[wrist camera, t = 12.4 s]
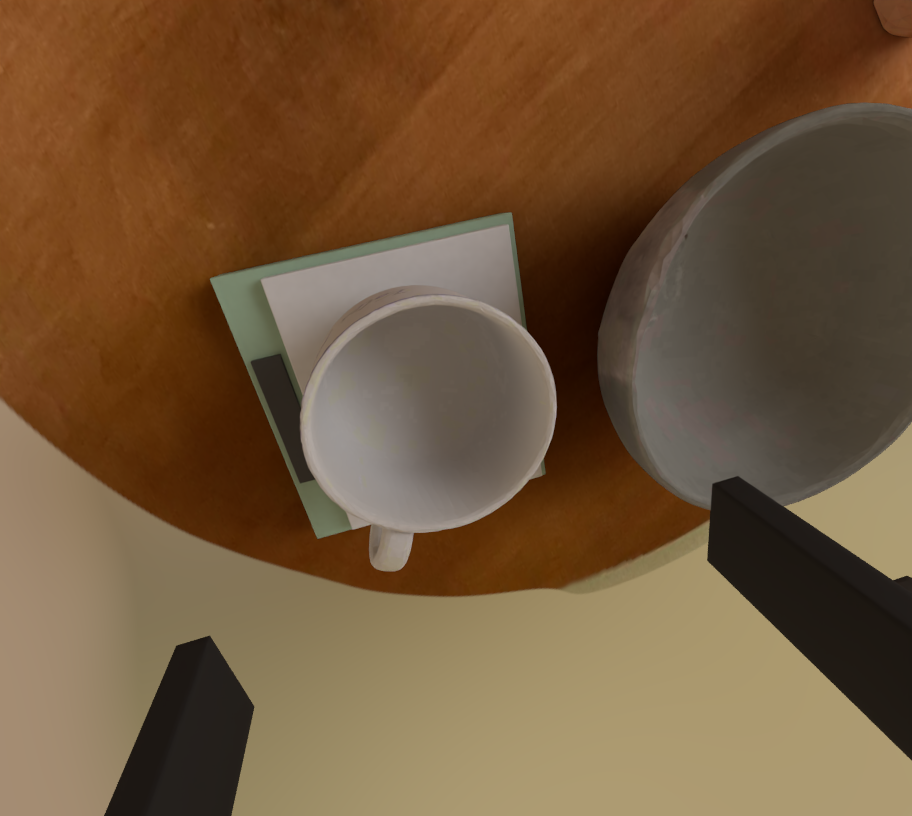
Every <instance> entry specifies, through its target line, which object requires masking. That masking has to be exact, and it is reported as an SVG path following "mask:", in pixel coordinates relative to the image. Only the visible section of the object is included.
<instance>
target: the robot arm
mask: <svg viewBox="0 0 912 816" xmlns="http://www.w3.org/2000/svg"><path fill="white" fill-rule="evenodd" d="M707 560H708V562H709V563H710V564H711V565H713V566H714V567H715V569H716V570H717V571H719V572H720V573H721V574H722V575H723V576H724V577H725V578H726V579H727V580H728V581H729V582H730V583H731V584H732V585H733V586H734V587H735V588H736V589H737V590H738V591H739V592H740V593H741V594H742V595H743V596H744V597H745V598H746V599H747V600H748V601H749V602H750V603H751V604H752V605H753V606H755V608H756V609H757V610H758V611H759V612H760V613H762V614H763V616H765V617H766V618H767V619H768V620H769V621H770V622H771V623H772V624H773V625H774V626H775V627H776V628H777V629H778V630H779V631H780V632H781V633H782V634H783V635H784V636H785V637H786V638H787V639H788V640H789V641H790V642H791V643H792V644H793V645H794V646H795V647H796V648H797V649H798V650H799V651H800V652H801V653H802V654H804V656H805V657H807V658H808V659H809V660H810V661H811V662H812V663H813V664H814V665H815V666H816V667H817V668H818V669H819V670H820V671H821V672H822V673H823V674H824V675H825V676H826V677H827V678H828V679H829V680H830V681H831V682H832V683H833V684H834V685H835V686H836V687H837V688H838V689H839V690H840V691H841V692H842V693H844V695H846V697H847V698H848V699H849V700H850V701H851V702H852V703H854V704H855V705H856V706H857V707H858V708H859V709H860V710H861V711H862V712H863V713H864V714H865V715H866V716H867V717H868V718H869V719H870V720H871V721H872V722H873V723H874V724H875V725H876V726H877V727H878V728H879V729H880V730H881V731H882V732H883V733H884V734H885V735H886V736H887V737H888V738H889V739H890V740H891V741H892V742H893V743H894V744H895V745H896V746H898V747H899V748H900V749H901V750H902V751H903V752H904V753H905V754H906V755H907V756H908V757H909V758H910V759H911V760H912V578H911V577H909V576H905V577H902V578H899V579H896V580H891V579H890V578H888V577H887V576H885V575H884V574H883V573H881V572H880V571H878V570H877V569H875V568H874V567H872V566H871V565H869V564H868V563H866V562H865V561H863V560H862V559H860V558H859V557H857V556H856V555H854V554H853V553H851V552H850V551H848V550H847V549H845V548H844V547H843V546H841V545H840V544H838V543H837V542H835V541H834V540H832V539H831V538H829V537H828V536H826V535H825V534H823V533H822V532H820V531H819V530H817V529H816V528H814V527H813V526H812V525H810V524H809V523H807V522H806V521H804V520H803V519H801V518H800V517H798V516H797V515H795V514H794V513H792V512H791V511H789V510H788V509H786V508H785V507H783V506H782V505H780V504H779V503H777V502H776V501H775V500H773V499H772V498H770V497H769V496H767V495H766V494H764V493H763V492H761V491H760V490H758V489H757V488H755V487H754V486H752V485H751V484H749V483H748V482H746V481H745V480H743V479H742V478H740V477H739V476H736V477H732V478H729V479H726V480H723V481H719V482H716V483H713V484H712V496H711V511H710V527H709V542H708V559H707ZM253 711H254V705H253V704H252V702H251V700H250V699H249V697H248V696H247V694H246V692H245V691H244V689H243V688H242V686H241V684H240V683H239V681H238V680H237V678H236V676H235V675H234V673H233V672H232V670H231V669H230V667H229V665H228V664H227V662H226V661H225V659H224V657H223V656H222V654H221V653H220V651H219V649H218V648H217V646H216V645H215V643H214V642H213V640H212V638H211V637H210V636H207V637H204V638H200V639H197V640H194V641H190V642H187V643H184V644H180V645H178V646H176V648H175V650H174V653H173V655H172V657H171V660H170V662H169V664H168V667H167V669H166V671H165V674H164V676H163V679H162V681H161V683H160V686H159V688H158V690H157V693H156V695H155V697H154V700H153V702H152V705H151V707H150V709H149V712H148V714H147V716H146V719H145V721H144V723H143V726H142V728H141V730H140V733H139V735H138V737H137V740H136V742H135V745H134V747H133V749H132V752H131V754H130V756H129V759H128V761H127V763H126V766H125V768H124V770H123V773H122V775H121V777H120V780H119V782H118V784H117V787H116V789H115V792H114V794H113V797H112V799H111V801H110V803H109V806H108V808H107V810H106V813H105V815H104V816H231V814H232V809H233V804H234V800H235V795H236V791H237V786H238V781H239V777H240V772H241V767H242V762H243V758H244V753H245V748H246V743H247V739H248V734H249V729H250V725H251V720H252V715H253Z"/></svg>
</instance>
